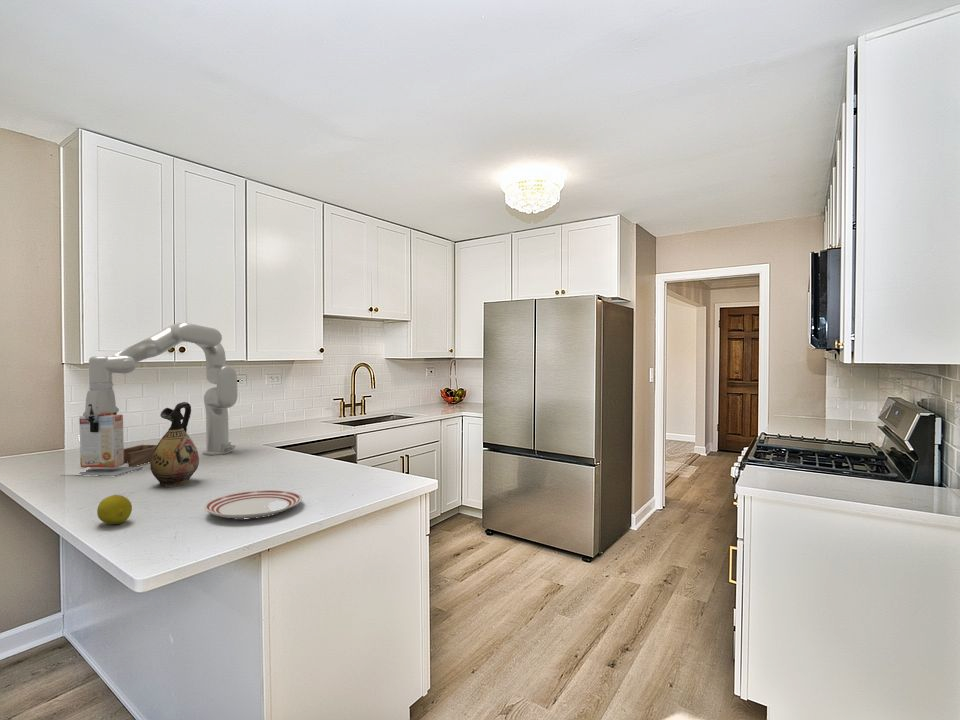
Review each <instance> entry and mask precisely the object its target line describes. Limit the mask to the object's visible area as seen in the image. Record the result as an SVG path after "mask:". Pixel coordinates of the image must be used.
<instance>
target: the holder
mask: <svg viewBox="0 0 960 720" xmlns="http://www.w3.org/2000/svg"><path fill="white" fill-rule="evenodd" d="M157 445H158V444H138V445H134V446H130V447H126V448H124V462H126V463H127V464H128V466H127V467H134V466H135V467H138V466H137V465H139V466H142V465H145V464H144V463H146V464H149V463H148V462H151V458H152V454H153V452H154V450H155V448H156V446H157ZM127 461H128V462H127ZM141 464H142V465H141Z"/></svg>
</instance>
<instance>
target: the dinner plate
mask: <svg viewBox="0 0 960 720" xmlns="http://www.w3.org/2000/svg"><path fill="white" fill-rule="evenodd" d="M276 500H279V501H285V502H287V504H288V505H287V506H286V507H285V508H283V509H280V510H276V511H271V510H270V509H269V507H268V506H269V503H270V502H273V501H276ZM301 501H303V496H302V495H301V494H300V493H297V492H294V491H289V490H280V489H256V490H247V491H240V492H234V493H233V492H232V493H229V494H226V495H221V496H218V497H215V498H213V499H211V500H209V501H207V502H206V503H205V504H204V505H203V508H204V511H206V512H207V513H209V514H211V515H213V516H217V517H221V518H226V519H230V518H237V519H236V520H245V519H244V518H256V517H263V516H268V515H272V514H275V515H277V514H276V513H278V514H280V513H282V512H284V511H287V510H289V509H291V508H293V507H295V506H296V505H298V504H300V503H301ZM267 505H268V506H267ZM264 506H265V507H264ZM279 512H280V513H279ZM272 516H273V515H272ZM268 517H269V516H268Z"/></svg>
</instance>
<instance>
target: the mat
mask: <svg viewBox="0 0 960 720" xmlns="http://www.w3.org/2000/svg"><path fill="white" fill-rule="evenodd" d="M142 468H143V466H142V467H141V466H135V467H128V466H117V467H90V469H88V470H86V472H80V473H79V474H81V475H98V476H116V477H118V476H117V475H120V476H122V475H121V474H123V475H125V474H124V473H126V474H129V473H128V472H130V473H132V472H131V471H133V472H136V471H135V470H137V471H139V469H140V470H143V469H144V468H143V469H142ZM98 476H97V477H98Z"/></svg>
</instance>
